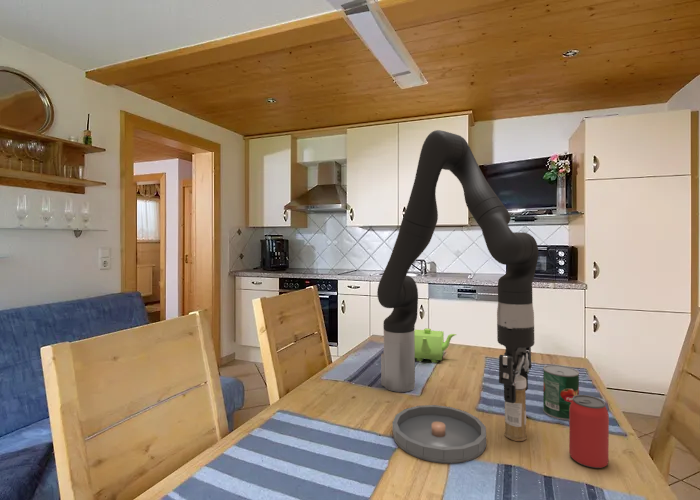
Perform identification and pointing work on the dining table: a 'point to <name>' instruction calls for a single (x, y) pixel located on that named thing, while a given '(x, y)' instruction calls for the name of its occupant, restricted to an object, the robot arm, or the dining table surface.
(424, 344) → the kettle
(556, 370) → the canned tomato
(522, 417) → the sprinkles bottle
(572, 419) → the beer can
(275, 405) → the dining table surface
